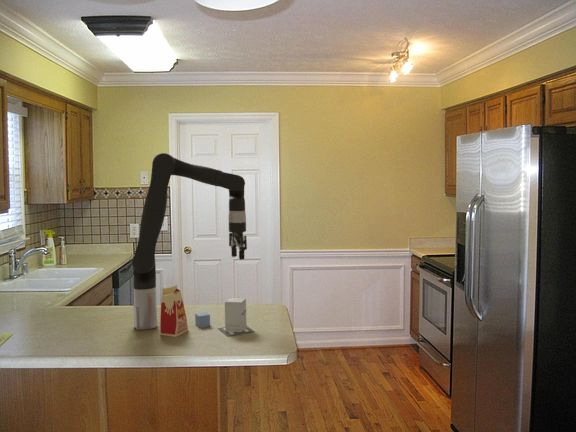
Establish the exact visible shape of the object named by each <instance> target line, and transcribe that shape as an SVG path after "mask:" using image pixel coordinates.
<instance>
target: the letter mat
mask: <svg viewBox="0 0 576 432" xmlns="http://www.w3.org/2000/svg"><path fill="white" fill-rule="evenodd" d="M217 329H218V330H219V331H220V332H221V333H223V334H224V335H225V336H226V337H233V336H240V335H243V334H250V333H255V332H256V331H255V330H254V329H252V328H251V327H249V326H248V325H246V328H245V329H244V330H243V331H242V332H225V326H224V327H217Z"/></svg>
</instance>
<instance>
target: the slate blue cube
mask: <svg viewBox="0 0 576 432" xmlns="http://www.w3.org/2000/svg"><path fill="white" fill-rule="evenodd" d="M194 315H195V316H194V317H195V320H194V321H195V326H197V328H206V327H211V314H209V313H208V312H207V311H205V312H197V313H195V314H194Z"/></svg>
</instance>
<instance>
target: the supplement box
mask: <svg viewBox="0 0 576 432" xmlns="http://www.w3.org/2000/svg"><path fill="white" fill-rule="evenodd" d="M246 326H247V298H246V297H245V298H241V297H240V298H239V297H233V298H232V297H231V298H228V299H227V300H226V301H224V327H225V332H242V331H243V330H244V329H245V328H246Z"/></svg>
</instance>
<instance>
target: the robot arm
mask: <svg viewBox="0 0 576 432" xmlns="http://www.w3.org/2000/svg"><path fill="white" fill-rule="evenodd" d="M172 176H177V177H183V178H187V179H191V180H194V181H196V182H199V183H202V184H206V185H210V186H215V187H220V188H223V189H226V190H228V196H229V197H228V198H229V200H228V232H229V234H228V246H229V247H230V250H231V257H232V258H235V257H237V256H238V260H241V261H242V260H245V251H246V250H247V249H248V242H247V235H244V233H245V232H247V214H246V201H245V186H246V180H245V179H244V178H243V177H242V176H241V175H238V174H234V173H229V172H225V171H222V170H220V169H216V168H212V167H209V166H208V167H207V166H203V165H199V164H192V163H189V162H186V161H183V160H180V159H178V158H175V157H173V155H171V154H169V153H167V152H160V153H158V154H156V155H155V157H154V158H153V159H152V164H151V176H150V183H149V187H148V190H147V193H146V197H145V201H144V204H143V207H142V213H141V219H140V227H139V237H138V241H137V242H138V243H137V245H136V249H135V252H134V254H133V257H132V259H131V260H132V261H131V265H132V269H133V271H132V272H133V283H132V284H133V301H134V303H133V305H132V306H133V323H134V324H133V326H134V328H135V329H136V331H138V330H139V331H140V330H152V329H155V328H157V327H158V307H157V305H158V304H157V275H156V273H157V271H156V248H157V243H158V239H159V236H160V233H161V230H162V227H163V225H164V221H165V217H166V212H167V205H168V204H167V200H168V188H169V182H170V179H171V177H172ZM237 249H238V250H237Z"/></svg>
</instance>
